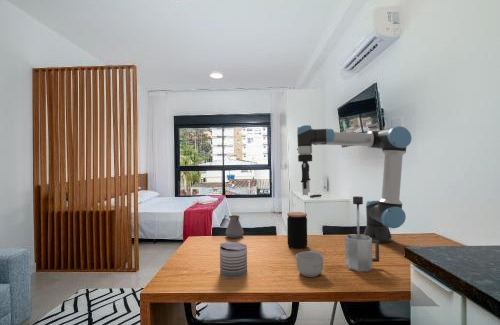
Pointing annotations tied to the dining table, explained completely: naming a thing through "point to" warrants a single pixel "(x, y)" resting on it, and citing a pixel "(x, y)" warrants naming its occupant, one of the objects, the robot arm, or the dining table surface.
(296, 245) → the coffee jar
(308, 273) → the teacup
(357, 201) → the plunger
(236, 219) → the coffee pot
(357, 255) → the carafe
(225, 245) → the can
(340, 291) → the dining table surface
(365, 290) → the dining table surface
